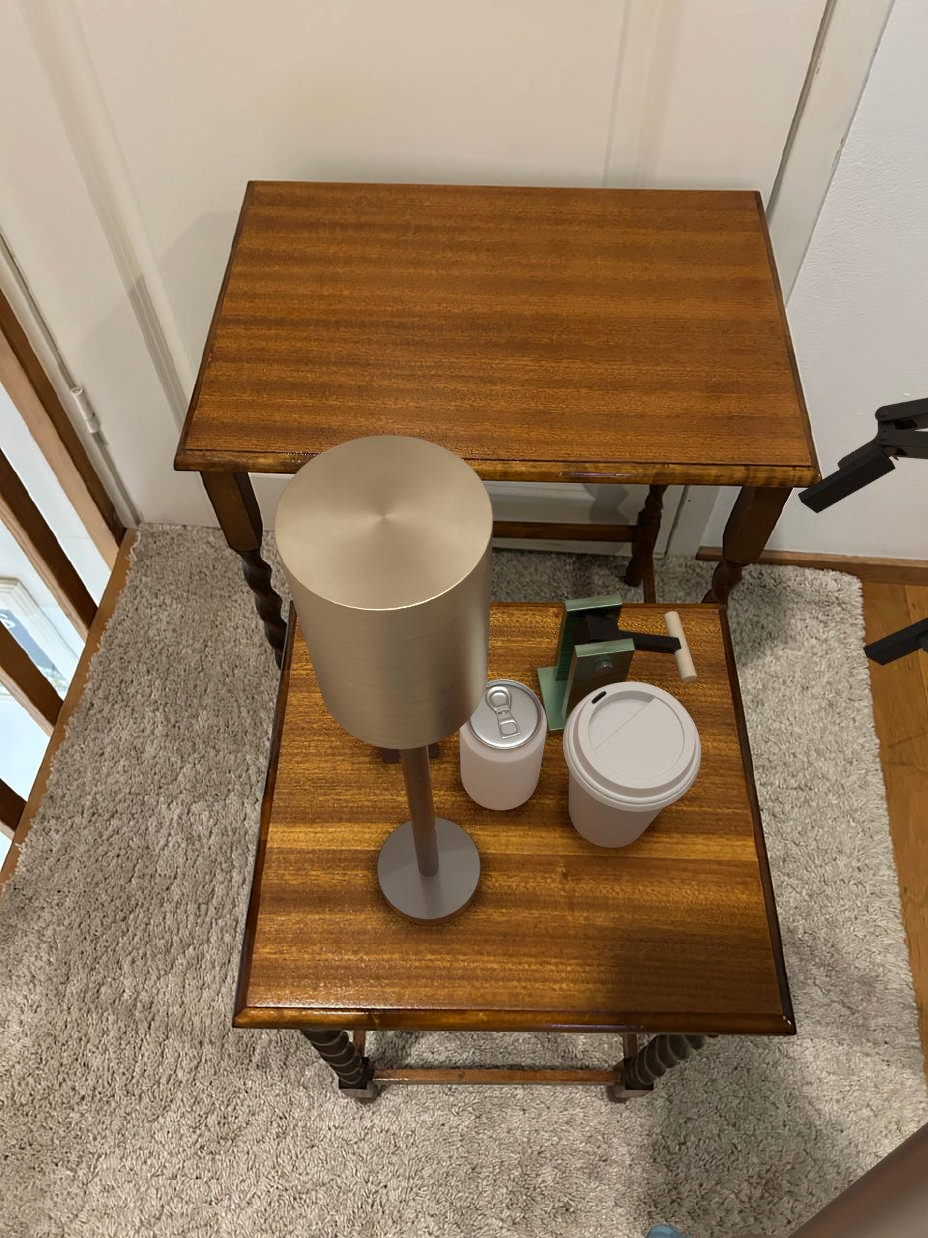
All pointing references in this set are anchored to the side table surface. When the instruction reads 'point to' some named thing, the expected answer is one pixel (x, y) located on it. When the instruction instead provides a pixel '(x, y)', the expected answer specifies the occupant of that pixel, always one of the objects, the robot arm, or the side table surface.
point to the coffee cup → (627, 760)
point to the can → (503, 746)
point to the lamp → (397, 629)
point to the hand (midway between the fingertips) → (837, 577)
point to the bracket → (582, 662)
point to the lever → (640, 639)
